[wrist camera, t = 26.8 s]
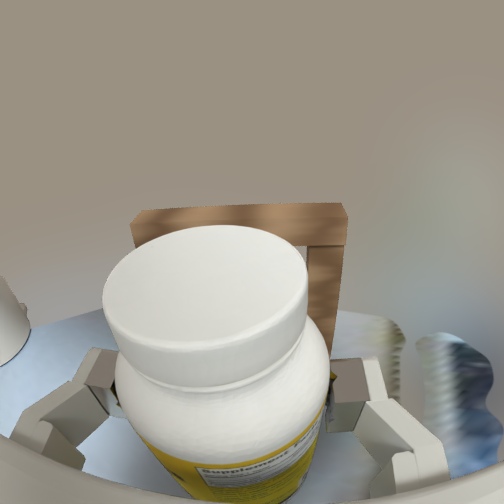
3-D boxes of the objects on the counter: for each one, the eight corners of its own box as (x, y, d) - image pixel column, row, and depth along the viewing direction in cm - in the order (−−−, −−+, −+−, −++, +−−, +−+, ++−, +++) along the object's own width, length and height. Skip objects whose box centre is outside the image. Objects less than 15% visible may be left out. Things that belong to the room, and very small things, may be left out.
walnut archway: (175, 372, 35) (129, 224, 25) (181, 354, 38) (142, 210, 28) (328, 374, 34) (347, 216, 24) (325, 355, 36) (341, 202, 26)
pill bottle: (170, 425, 14) (90, 236, 9) (282, 398, 16) (280, 199, 10) (193, 531, 9) (45, 404, 4) (329, 494, 10) (406, 316, 5)
